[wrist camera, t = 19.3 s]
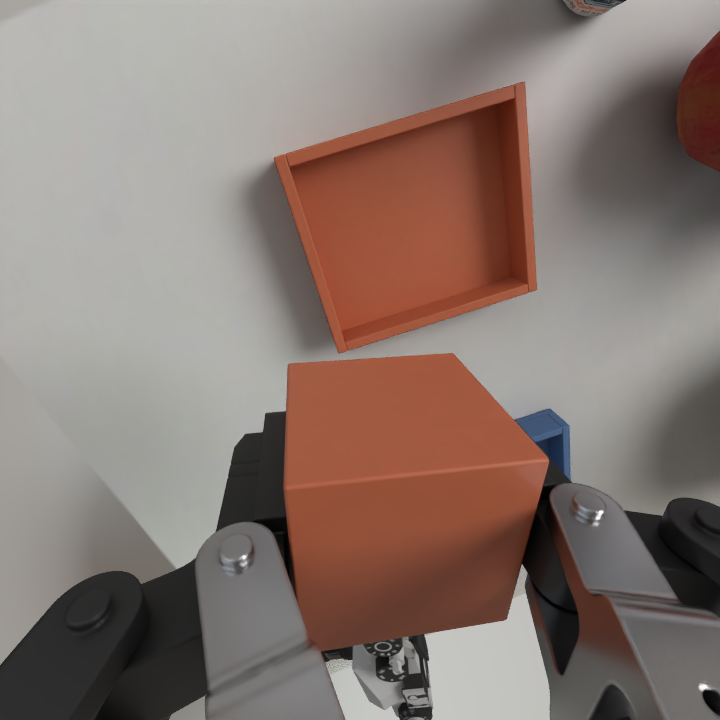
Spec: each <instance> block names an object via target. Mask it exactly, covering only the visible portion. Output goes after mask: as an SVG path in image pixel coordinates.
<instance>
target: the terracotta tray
mask: <svg viewBox="0 0 720 720" xmlns="http://www.w3.org/2000/svg"><path fill="white" fill-rule="evenodd" d="M274 161H275V164H276V167H277V170H278V173H279V176H280V179H281V182H282V185H283V188H284V191H285V194H286V197H287V200H288V203H289V206H290V209H291V212H292V215H293V218H294V221H295V224H296V227H297V230H298V233H299V236H300V239H301V242H302V245H303V248H304V251H305V254H306V257H307V260H308V263H309V266H310V269H311V272H312V275H313V278H314V281H315V284H316V287H317V290H318V293H319V296H320V299H321V302H322V305H323V308H324V311H325V314H326V317H327V320H328V323H329V326H330V329H331V332H332V335H333V338H334V341H335V344H336V348H337V351H338V353H342V352H345V351H347V350H352V349H355V348H358V347H361V346H364V345H367V344H370V343H373V342H377V341H380V340H383V339H386V338H389V337H392V336H395V335H398V334H401V333H404V332H408V331H411V330H414V329H417V328H420V327H423V326H426V325H429V324H432V323H436V322H439V321H442V320H445V319H448V318H451V317H454V316H457V315H460V314H463V313H467V312H470V311H473V310H476V309H479V308H482V307H485V306H488V305H491V304H495V303H498V302H501V301H504V300H507V299H510V298H513V297H516V296H519V295H522V294H526V293H528V292H532V291H535V290H537V282H536V264H535V247H534V230H533V212H532V195H531V177H530V160H529V143H528V125H527V108H526V90H525V82H521V83H517V84H514V85H511V86H507V87H504V88H501V89H497V90H494V91H491V92H488V93H484V94H481V95H478V96H474V97H471V98H468V99H465V100H461V101H458V102H455V103H451V104H448V105H445V106H441V107H438V108H435V109H432V110H428V111H425V112H422V113H418V114H415V115H412V116H409V117H405V118H402V119H399V120H395V121H392V122H389V123H385V124H382V125H379V126H376V127H372V128H369V129H366V130H362V131H359V132H356V133H353V134H349V135H346V136H343V137H339V138H336V139H333V140H329V141H326V142H323V143H320V144H316V145H313V146H310V147H306V148H303V149H300V150H297V151H293V152H290V153H287V154H286V155H284V154H283V155H280V156H277V157H274Z"/></svg>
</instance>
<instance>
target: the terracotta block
mask: <svg viewBox="0 0 720 720" xmlns="http://www.w3.org/2000/svg"><path fill="white" fill-rule="evenodd" d="M548 464H549V459H548V457H547V456H546V455H545V454H544V453H543V452H542V450H541V449H540V448H539V447H538V446H537V445H536V444H535V443H534V442H533V441H532V439H531V438H530V437H529V436H528V435H527V434H526V433H525V432H524V431H523V430H522V428H521V427H520V426H519V425H518V424H517V423H516V422H515V421H514V420H513V419H512V417H511V416H510V415H509V414H508V413H507V412H506V411H505V410H504V409H503V408H502V406H501V405H500V404H499V403H498V402H497V401H496V400H495V399H494V398H493V397H492V395H491V394H490V393H489V392H488V391H487V390H486V389H485V388H484V387H483V385H482V384H481V383H480V382H479V381H478V380H477V379H476V378H475V377H474V376H473V374H472V373H471V372H470V371H469V370H468V369H467V368H466V367H465V366H464V365H463V363H462V362H461V361H460V360H459V359H458V358H457V357H456V356H455V355H454V354H453V353H448V354H433V355H417V356H401V357H386V358H370V359H354V360H339V361H323V362H307V363H292V364H288V372H287V399H286V427H285V454H284V481H283V491H284V500H285V509H286V518H287V527H288V537H289V546H290V555H291V564H292V573H293V582H294V591H295V597H296V600H297V603H298V606H299V609H300V611H301V614H302V617H303V620H304V623H305V626H306V629H307V632H308V634H309V637H310V639H311V640H312V642H313V641H315V642H316V644H317V645H318V647H319V649H320V651H326V650H332V649H338V648H344V647H350V646H355V645H361V644H367V643H373V642H379V641H385V640H391V639H397V638H403V637H409V636H415V635H421V634H427V633H433V632H439V631H444V630H450V629H456V628H462V627H468V626H474V625H480V624H486V623H492V622H498V621H504V620H506V619H507V616H508V613H509V609H510V605H511V601H512V598H513V594H514V590H515V587H516V583H517V579H518V576H519V572H520V568H521V565H522V561H523V557H524V553H525V550H526V546H527V542H528V539H529V535H530V531H531V527H532V524H533V520H534V516H535V513H536V509H537V505H538V501H539V498H540V494H541V490H542V487H543V483H544V479H545V476H546V472H547V468H548Z"/></svg>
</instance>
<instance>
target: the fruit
mask: <svg viewBox="0 0 720 720" xmlns="http://www.w3.org/2000/svg"><path fill="white" fill-rule="evenodd" d="M676 120H677V129H678V138H679V140H680V142H681V144H682V145H683V147H684V149H685V150H686V152H687V153H688V155H689V156H690V157H692V158H694V159H696V160H697V161H699V162H701V163H703V164H705V165H707V166H709V167H711V168H713V169H715V170H717V171H719V172H720V31H719V32H718V33H717V34H716V35H715V36H714V37H713V38H712V39H711V40H710V42H709V43H708V44H707V45H706V46H705V47H704V48H703V49H702V50H701V51H700V52H699V53H698V55H697V56H696V57H695V58H694V59H693V60H692V61H691V63H690V65H689V68H688V70H687V72H686V74H685V76H684V78H683V81H682V83H681V85H680V87H679V93H678V103H677V113H676Z"/></svg>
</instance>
